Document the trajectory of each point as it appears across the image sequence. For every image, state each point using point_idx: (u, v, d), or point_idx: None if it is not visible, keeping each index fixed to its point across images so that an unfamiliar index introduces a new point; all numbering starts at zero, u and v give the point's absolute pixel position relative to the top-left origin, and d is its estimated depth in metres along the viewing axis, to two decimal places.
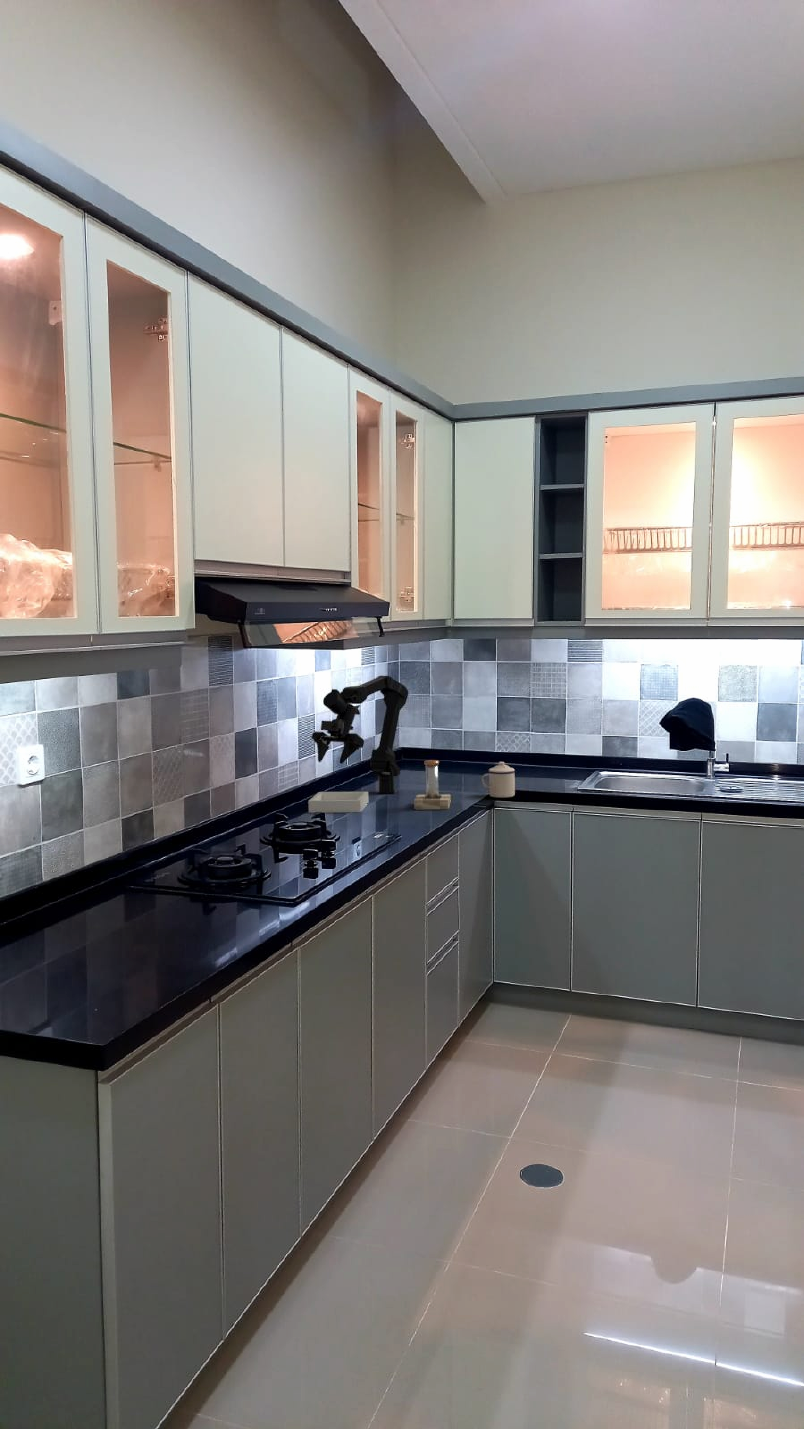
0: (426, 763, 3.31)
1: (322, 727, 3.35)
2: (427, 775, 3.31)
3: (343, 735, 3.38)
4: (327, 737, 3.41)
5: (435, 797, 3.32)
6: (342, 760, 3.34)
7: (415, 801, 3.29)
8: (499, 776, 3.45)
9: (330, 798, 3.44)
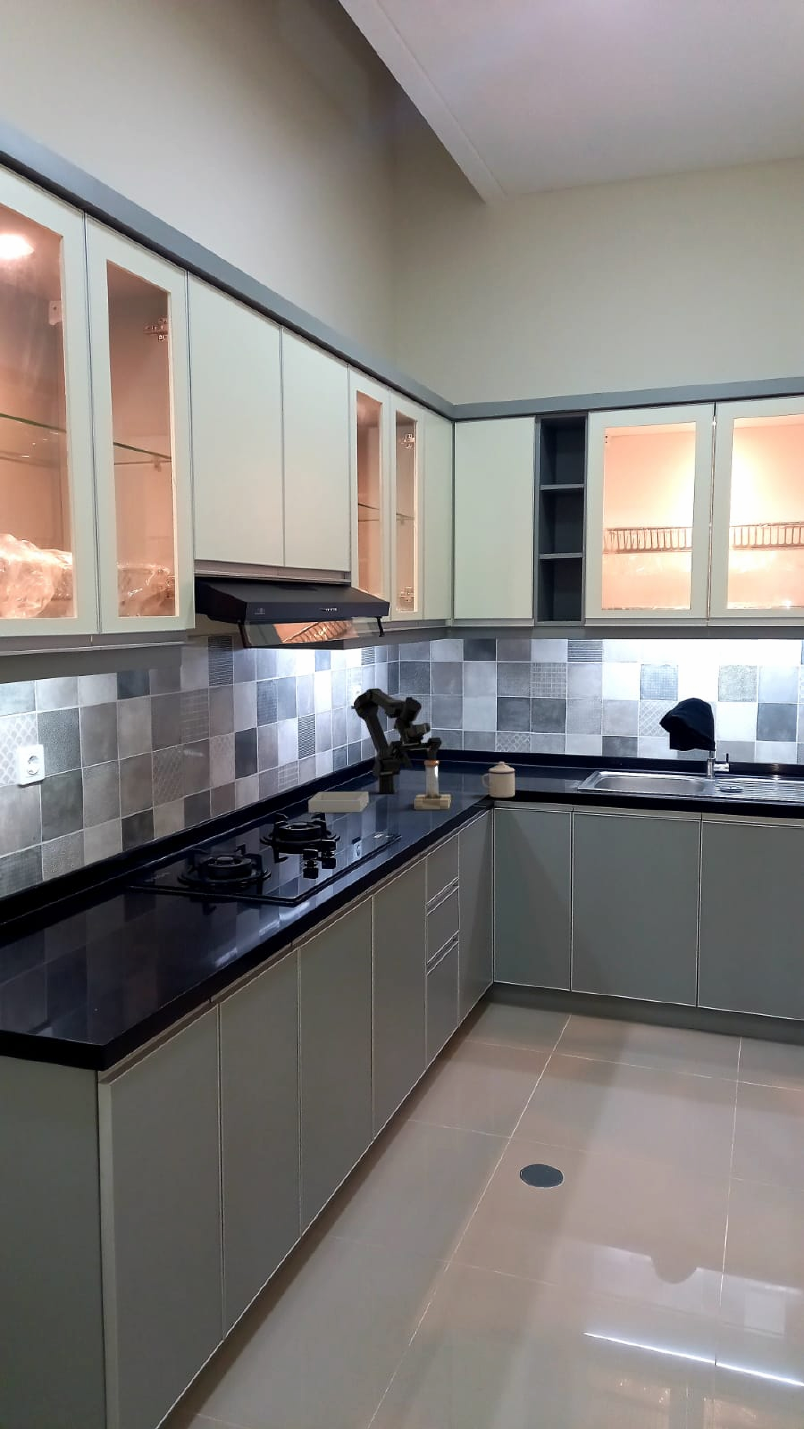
0: (426, 763, 3.31)
1: (417, 730, 3.37)
2: (427, 775, 3.31)
3: None
4: (405, 745, 3.40)
5: (435, 797, 3.32)
6: None
7: (415, 801, 3.29)
8: (499, 776, 3.45)
9: (330, 798, 3.44)
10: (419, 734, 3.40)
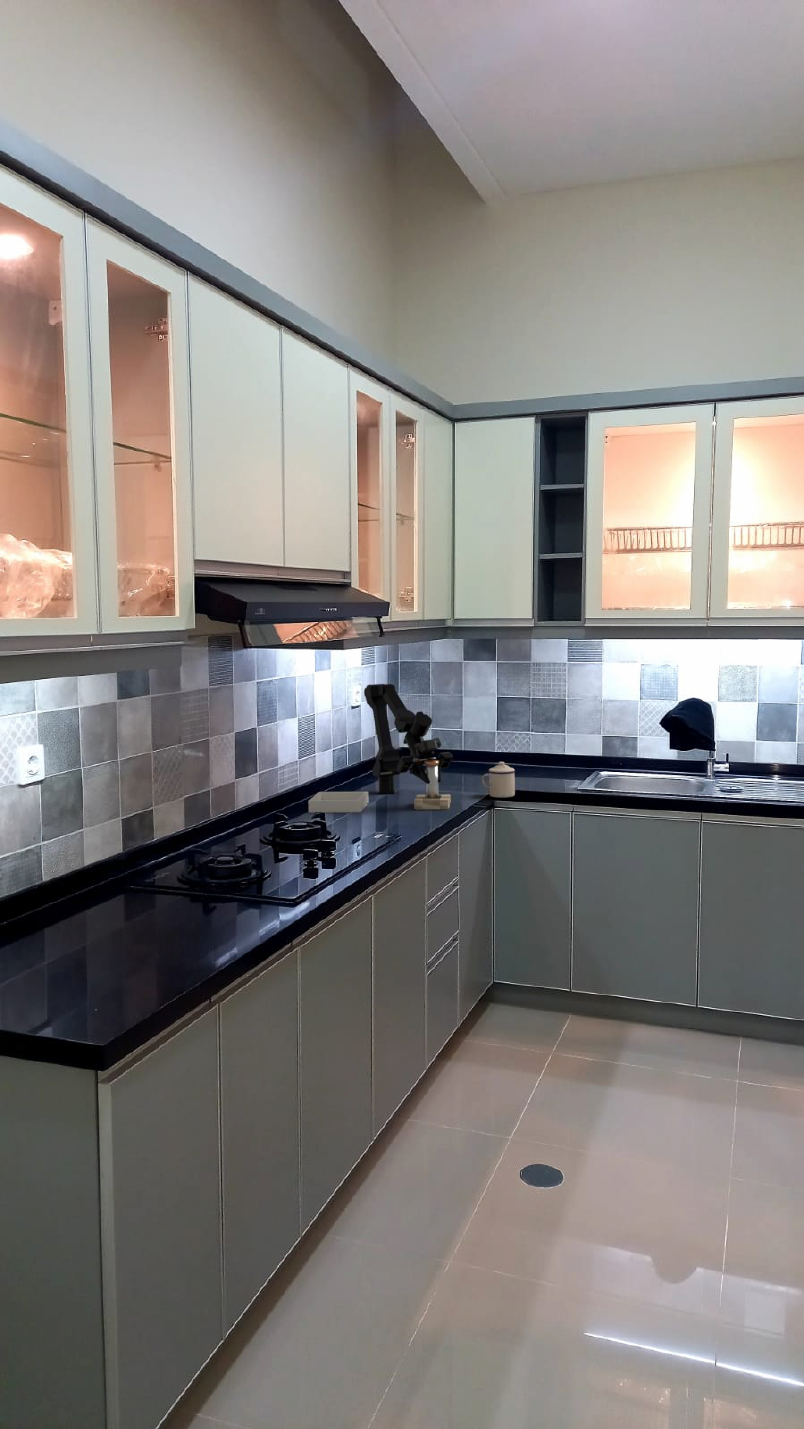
0: (426, 763, 3.31)
1: (428, 746, 3.31)
2: (427, 775, 3.31)
3: None
4: None
5: (435, 797, 3.32)
6: None
7: (415, 801, 3.29)
8: (499, 776, 3.45)
9: (330, 798, 3.44)
10: (430, 750, 3.34)
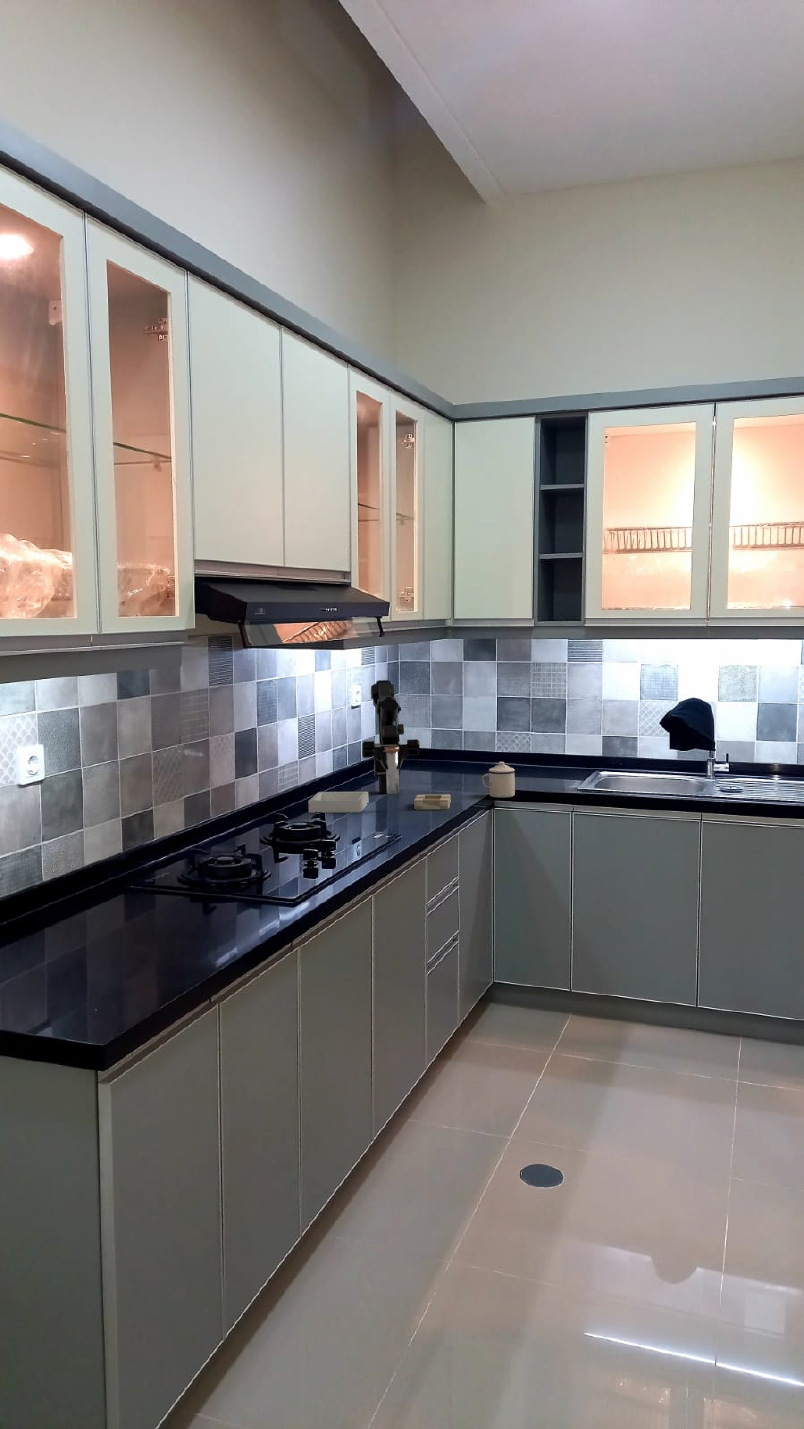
0: (384, 749, 3.28)
1: (387, 732, 3.28)
2: (386, 761, 3.29)
3: (398, 743, 3.34)
4: None
5: (393, 783, 3.28)
6: (400, 765, 3.29)
7: (415, 801, 3.29)
8: (499, 776, 3.45)
9: (330, 798, 3.44)
10: (392, 736, 3.30)
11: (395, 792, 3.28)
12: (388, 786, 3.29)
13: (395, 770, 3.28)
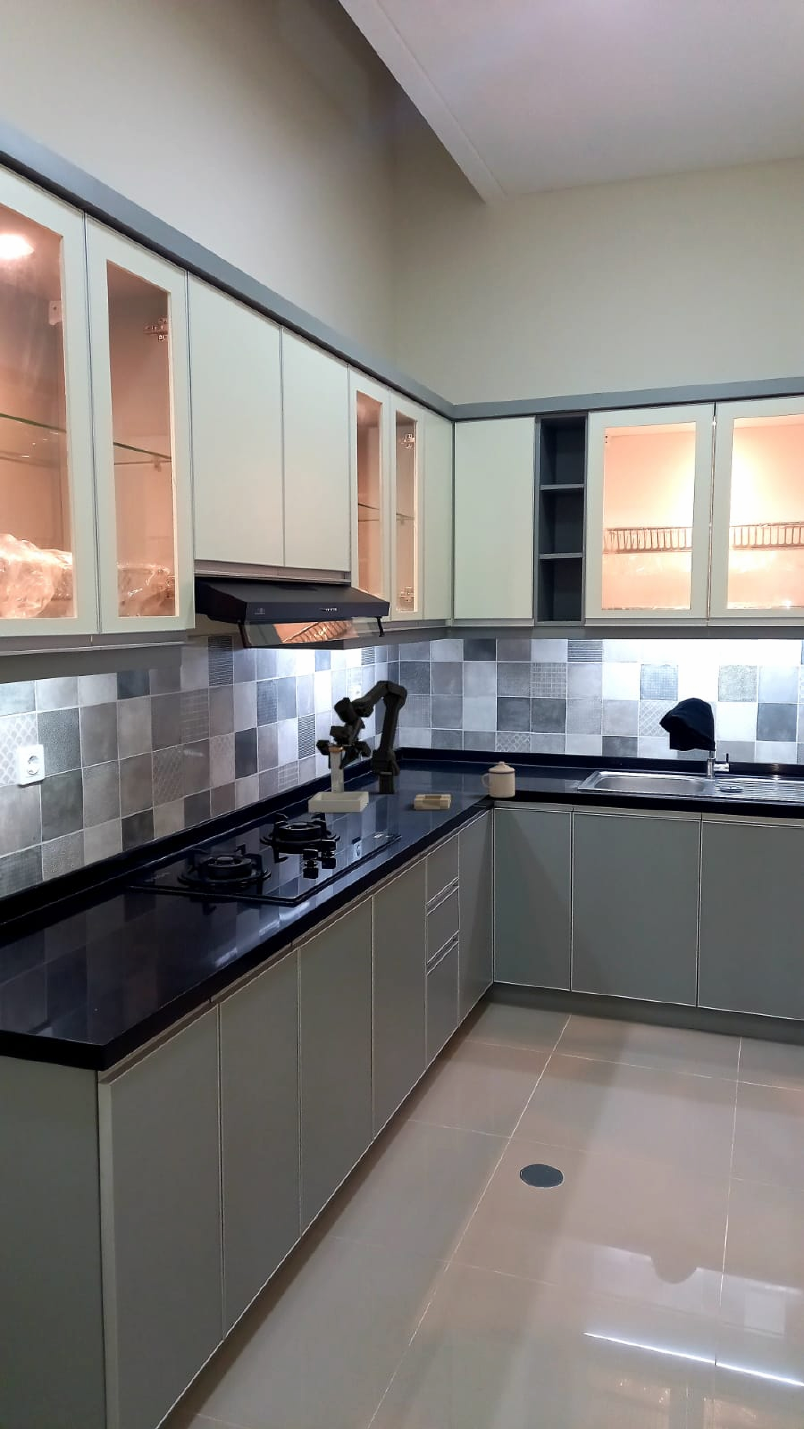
0: None
1: (331, 732, 3.33)
2: None
3: (350, 743, 3.36)
4: (332, 745, 3.38)
5: (334, 783, 3.32)
6: (342, 766, 3.32)
7: (415, 801, 3.29)
8: (499, 776, 3.45)
9: (330, 798, 3.44)
10: (340, 736, 3.34)
11: (336, 792, 3.32)
12: (331, 785, 3.34)
13: (336, 770, 3.32)
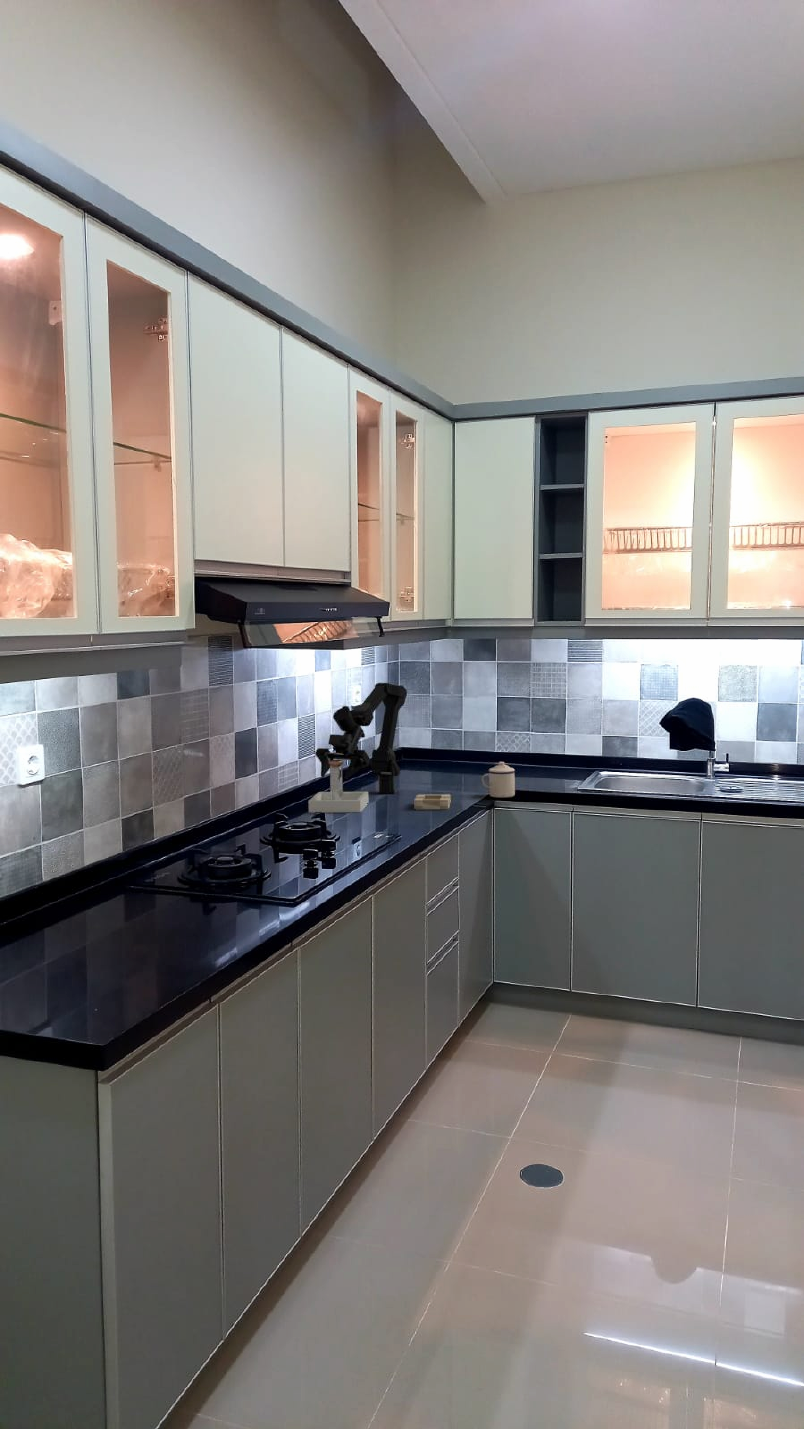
0: None
1: (330, 740, 3.33)
2: None
3: (349, 752, 3.36)
4: (332, 754, 3.38)
5: (333, 796, 3.33)
6: (347, 775, 3.31)
7: (415, 801, 3.29)
8: (499, 776, 3.45)
9: (330, 798, 3.44)
10: (339, 745, 3.34)
11: None
12: None
13: (335, 784, 3.32)
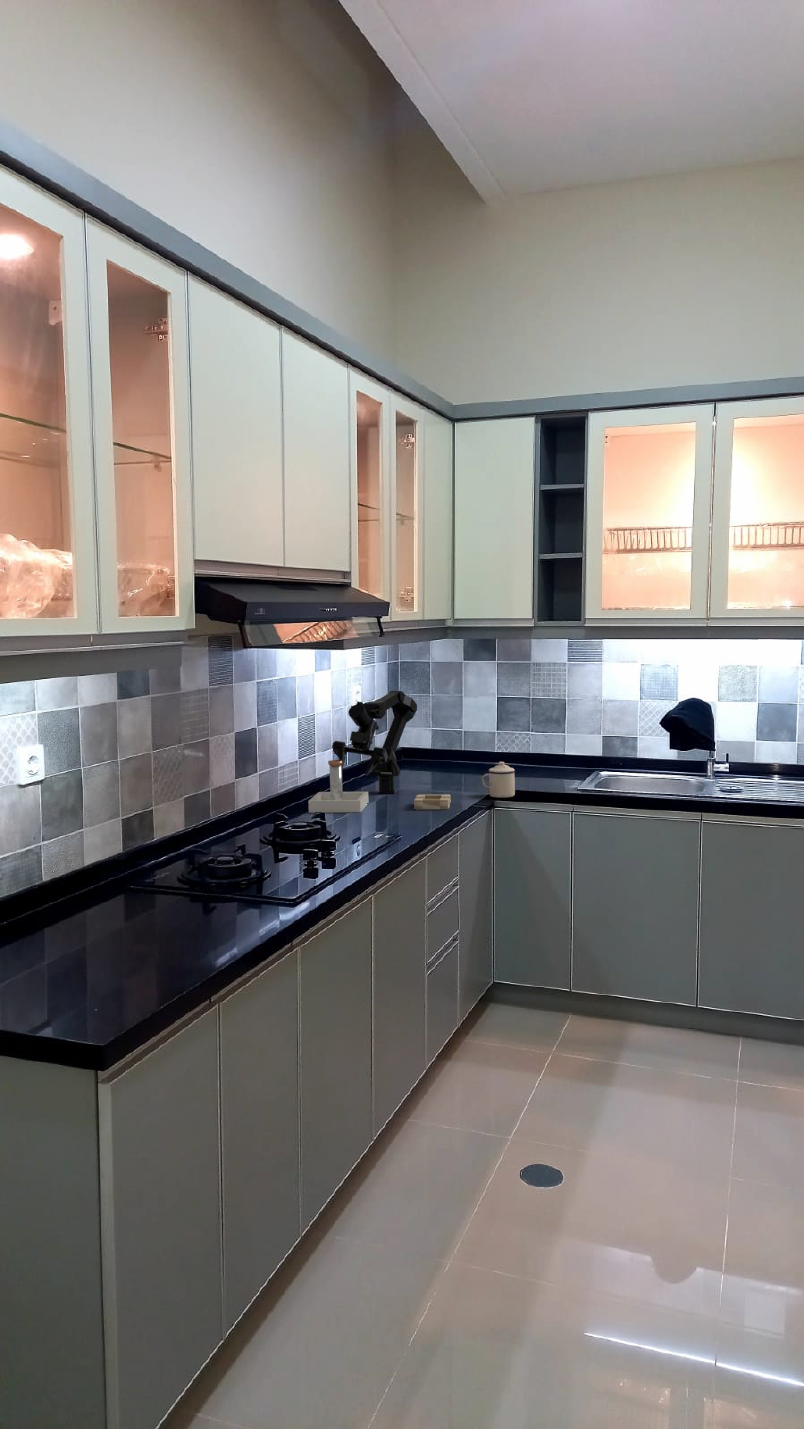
0: None
1: (352, 738, 3.39)
2: None
3: (367, 748, 3.44)
4: (349, 748, 3.45)
5: (333, 797, 3.33)
6: (368, 772, 3.40)
7: (415, 801, 3.29)
8: (499, 776, 3.45)
9: (330, 798, 3.44)
10: (360, 742, 3.41)
11: None
12: None
13: (335, 784, 3.32)
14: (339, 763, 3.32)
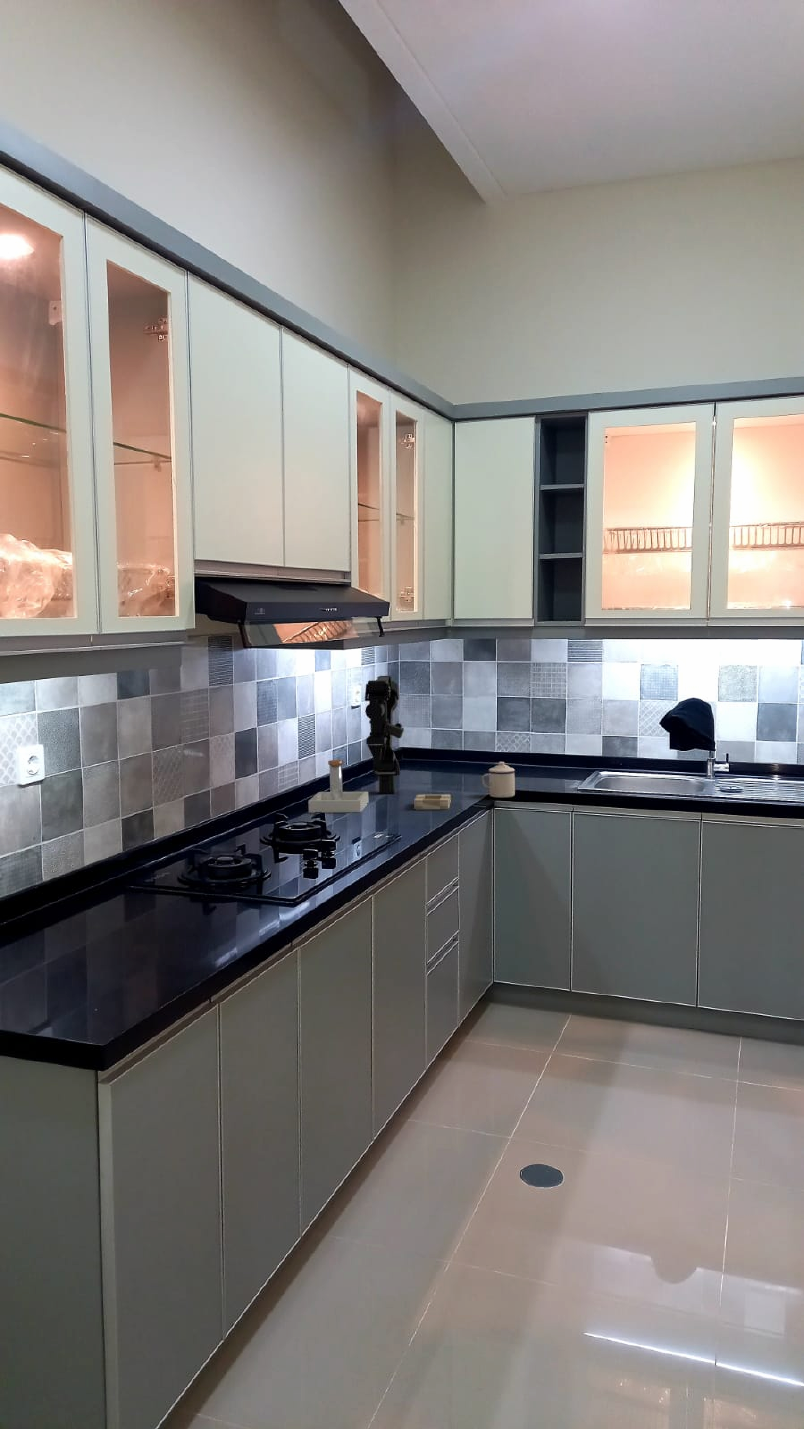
0: None
1: (401, 736, 3.45)
2: None
3: None
4: None
5: (333, 797, 3.33)
6: None
7: (415, 801, 3.29)
8: (499, 776, 3.45)
9: (330, 798, 3.44)
10: None
11: None
12: None
13: (335, 784, 3.32)
14: (339, 763, 3.32)
